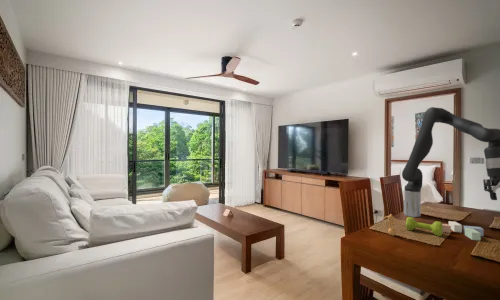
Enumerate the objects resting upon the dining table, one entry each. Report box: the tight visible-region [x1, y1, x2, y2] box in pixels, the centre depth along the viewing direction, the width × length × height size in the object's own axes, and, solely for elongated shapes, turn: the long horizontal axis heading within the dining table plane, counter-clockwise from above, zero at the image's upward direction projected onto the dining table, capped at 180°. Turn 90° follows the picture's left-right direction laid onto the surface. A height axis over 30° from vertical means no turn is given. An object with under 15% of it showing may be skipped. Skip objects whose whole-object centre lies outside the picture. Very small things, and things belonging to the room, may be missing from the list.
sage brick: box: [464, 228, 482, 241], centre depth 120 cm, size 3×7×4 cm, turn 159°
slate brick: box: [463, 225, 484, 237], centre depth 124 cm, size 7×3×4 cm, turn 70°
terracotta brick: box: [442, 223, 452, 234], centre depth 129 cm, size 7×3×4 cm, turn 69°
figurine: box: [382, 213, 401, 236], centre depth 123 cm, size 8×6×12 cm
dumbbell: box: [405, 216, 444, 237], centre depth 128 cm, size 16×8×7 cm, turn 47°
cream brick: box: [448, 220, 463, 233], centre depth 131 cm, size 3×7×4 cm, turn 160°
